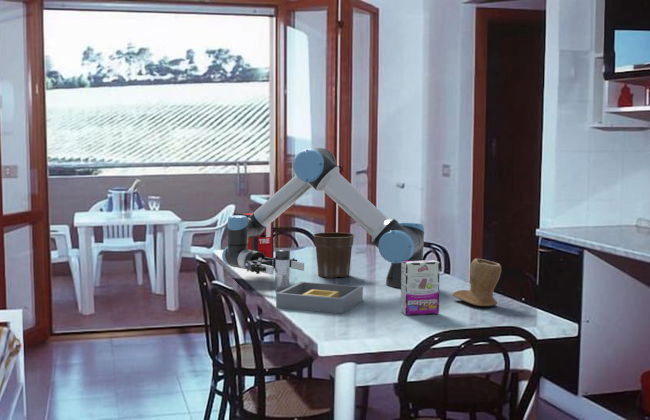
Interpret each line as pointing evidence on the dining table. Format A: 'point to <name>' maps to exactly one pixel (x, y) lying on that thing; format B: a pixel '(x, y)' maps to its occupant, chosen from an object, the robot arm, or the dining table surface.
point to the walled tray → (319, 297)
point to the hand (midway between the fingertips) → (288, 268)
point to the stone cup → (481, 283)
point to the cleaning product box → (262, 239)
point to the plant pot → (333, 253)
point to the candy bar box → (420, 287)
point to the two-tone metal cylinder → (282, 269)
